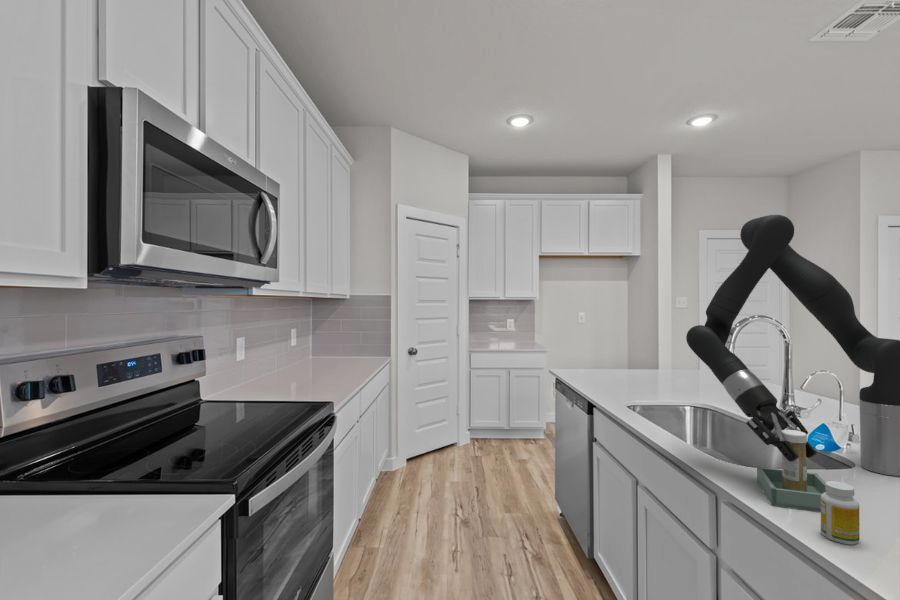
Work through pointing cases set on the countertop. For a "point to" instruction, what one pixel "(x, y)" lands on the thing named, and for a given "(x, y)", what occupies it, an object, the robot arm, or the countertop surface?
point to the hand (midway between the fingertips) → (803, 457)
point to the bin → (781, 497)
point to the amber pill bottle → (795, 462)
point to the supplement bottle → (840, 513)
